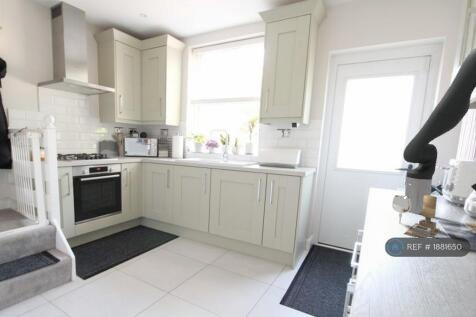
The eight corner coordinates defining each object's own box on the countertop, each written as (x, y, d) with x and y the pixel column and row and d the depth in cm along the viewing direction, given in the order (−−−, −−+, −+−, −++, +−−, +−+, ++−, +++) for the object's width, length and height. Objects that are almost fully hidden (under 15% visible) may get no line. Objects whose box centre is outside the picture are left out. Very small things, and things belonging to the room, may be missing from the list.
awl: (421, 225, 83) (424, 194, 82) (434, 229, 80) (437, 196, 79) (419, 228, 81) (422, 196, 80) (432, 231, 78) (435, 198, 77)
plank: (415, 226, 86) (416, 216, 86) (439, 232, 81) (440, 222, 80) (402, 238, 74) (403, 226, 74) (429, 246, 69) (431, 233, 69)
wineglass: (402, 230, 81) (405, 199, 81) (387, 225, 87) (389, 195, 86) (412, 228, 84) (415, 198, 83) (396, 223, 89) (399, 194, 88)
